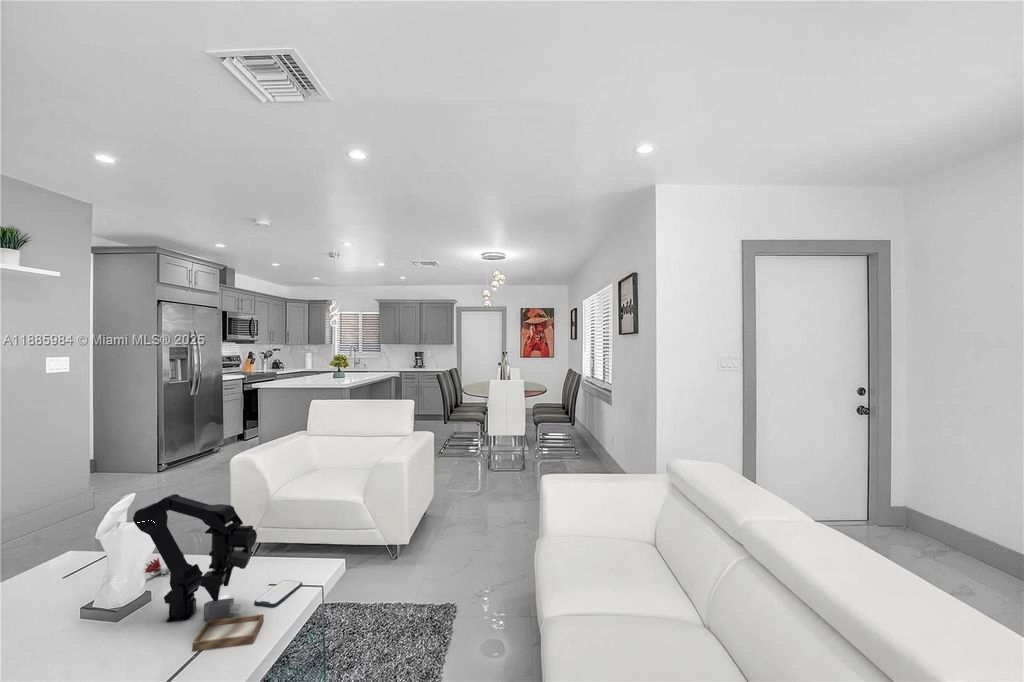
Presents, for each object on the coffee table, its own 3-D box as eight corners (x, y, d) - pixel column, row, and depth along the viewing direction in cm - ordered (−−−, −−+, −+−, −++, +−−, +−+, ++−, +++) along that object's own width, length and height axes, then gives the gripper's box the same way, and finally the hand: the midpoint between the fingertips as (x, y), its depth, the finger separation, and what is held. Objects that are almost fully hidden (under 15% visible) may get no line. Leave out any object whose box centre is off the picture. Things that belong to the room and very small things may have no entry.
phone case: (282, 583, 177) (252, 606, 161) (282, 579, 177) (252, 601, 161) (303, 586, 175) (275, 609, 160) (304, 581, 175) (275, 604, 160)
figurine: (171, 562, 191) (171, 546, 191) (191, 567, 187) (191, 551, 187) (130, 579, 177) (130, 562, 177) (150, 585, 173) (150, 568, 173)
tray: (192, 651, 137) (192, 643, 137) (207, 628, 148) (207, 620, 148) (253, 643, 141) (253, 635, 141) (263, 621, 152) (263, 614, 152)
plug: (201, 623, 151) (201, 607, 151) (206, 616, 155) (206, 600, 155) (237, 619, 153) (237, 603, 153) (241, 612, 157) (241, 597, 157)
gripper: (239, 556, 147) (238, 606, 147) (257, 532, 165) (256, 576, 165) (199, 559, 144) (198, 610, 144) (221, 535, 162) (221, 579, 162)
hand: (221, 593), depth 154 cm, fingers open, 9 cm apart
